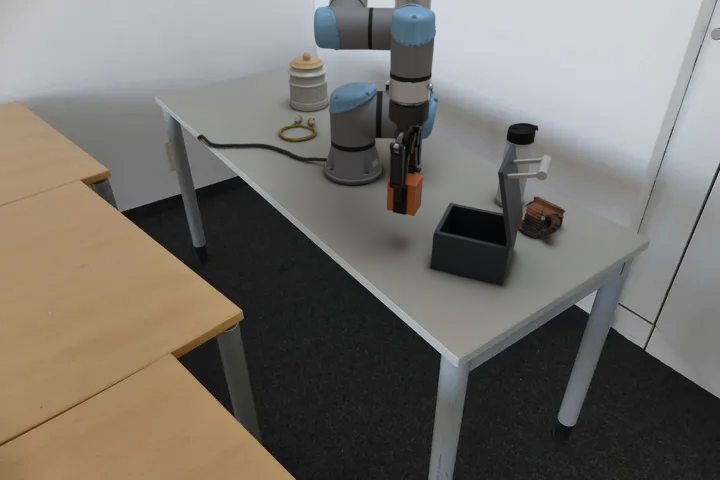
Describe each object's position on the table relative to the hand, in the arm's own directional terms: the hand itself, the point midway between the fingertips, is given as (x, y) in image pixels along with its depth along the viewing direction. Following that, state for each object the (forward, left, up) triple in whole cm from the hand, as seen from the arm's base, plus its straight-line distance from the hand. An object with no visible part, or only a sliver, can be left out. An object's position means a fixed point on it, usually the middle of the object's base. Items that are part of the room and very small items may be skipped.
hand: (403, 206), depth 113 cm
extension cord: (-40, +52, -10) cm, 66 cm away
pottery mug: (+30, +12, -10) cm, 34 cm away
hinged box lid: (+20, -3, +7) cm, 22 cm away
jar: (-44, +74, -10) cm, 87 cm away
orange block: (0, 0, 0) cm, 0 cm away
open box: (+15, -3, -10) cm, 18 cm away
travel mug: (+23, +23, -10) cm, 34 cm away
